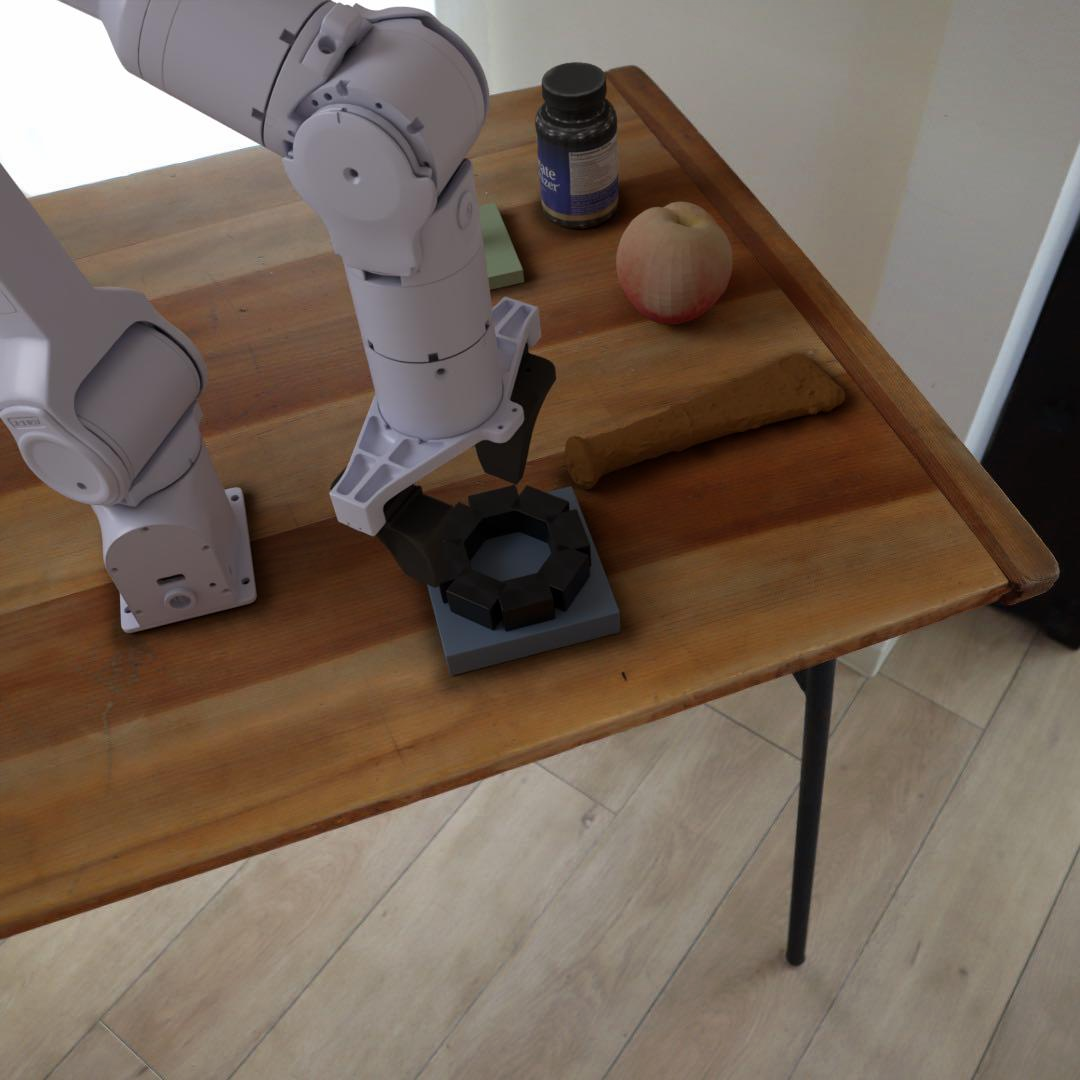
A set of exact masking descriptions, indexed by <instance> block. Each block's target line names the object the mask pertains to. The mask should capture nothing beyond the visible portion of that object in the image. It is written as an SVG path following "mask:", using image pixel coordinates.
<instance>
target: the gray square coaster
mask: <svg viewBox="0 0 1080 1080" xmlns="http://www.w3.org/2000/svg"><path fill="white" fill-rule="evenodd" d="M545 492H546V493H548V494H551V495H554V496H556V497H559V498H561V499H564V500H566V501H569V508H570V510H574V509H577V511H578V514H579V516H580V519H581V522H582V524H583V527H584V530H585V532H586V535H587V538H588V540H589V543H590V549H591V566H590V567H589V568H590V577H589V578H588V580H587V581H586V583H585V584H584V586H583V587H582V589H581V590H580V592H579V593H578V595H577V596H576V597H575V599H574V600H573V602H572V603H571V605H570V606H569V608H568V609H567V611H566V612H564V611H562V610H560V609H557V608H555V617H556V618H555V619H554V620H550V621H546V622H542V623H538V624H534V625H530V626H526V627H522V628H519V629H515V630H511V631H507V632H506V631H505V628H504V625H503V621H502V619H501V621H500V622H499V623H498V625H497V626H496V628H495V629H494V630H491V629H488V628H486V627H484V626H482V625H479V624H477V623H475V622H473V621H470V620H468V619H466V618H464V617H462V616H459V615H457V614H455V613H453V612H451V611H450V607H449V602H448V603H443V601H442V598H441V594H440V590H439V586H438V587H436V588H434V587H432V586H429V585H427V584H426V586H427V590H428V595H429V597H430V601H431V606H432V610H433V613H434V618H435V622H436V625H437V630H438V634H439V638H440V642H441V646H442V649H443V653H444V658H445V661H446V665H447V669H448V673H449V676H450V677H451V676H457V675H461V674H464V673H468V672H472V671H475V670H479V669H483V668H488V667H491V666H494V665H499V664H502V663H506V662H510V661H514V660H518V659H522V658H527V657H531V656H533V655H538V654H542V653H545V652H549V651H553V650H556V649H561V648H563V647H565V648H566V647H568V646H573V645H577V644H579V643H583V642H587V641H591V640H595V639H600V638H603V637H606V636H611V635H615V634H618V633H621V611H620V609H619V607H618V604H617V602H616V598H615V596H614V593H613V590H612V588H611V585H610V583H609V581H608V577H607V574H606V571H605V570H604V567H603V564H602V561H601V559H600V556H599V553H598V551H597V548H596V546H595V543H594V540H593V538H592V535H591V533H590V530H589V527H588V525H587V522H586V519H585V517H584V514H583V511H582V509H581V506H580V504H579V500H578V498H577V496H576V493H575V490H574V488H573V486H572V485H571V486H566V487H563V488H562V487H561V488H557V489H555V490H554V489H553V490H550V491H545ZM550 554H551V551H550V548H549V546H548V543H545V542H543V541H540V540H538V539H535V538H533V537H530V536H528V535H525V534H523V533H521V532H515V533H511V534H507V535H503V536H499V537H495V538H491V539H487V540H485V542H484V543H483V544H482V546H481V547H480V548H479V550H478V551H477V552H476V554H475V555H474V556H473V557H472V559H471V560H470V565H471V568H472V569H473V570H475V571H478V572H480V573H482V574H485V575H487V576H489V577H492V578H494V579H496V580H499V581H501V582H503V581H506V580H510V579H514V578H518V577H522V576H526V575H530V574H534V573H537V572H538V571H539V569H540V568H541V567H542V565H543V564H544V562H545V561H546V560H547V558H548V557H549V555H550Z"/></svg>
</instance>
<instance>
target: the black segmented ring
mask: <svg viewBox="0 0 1080 1080" xmlns="http://www.w3.org/2000/svg"><path fill="white" fill-rule="evenodd" d="M546 492H547V491H543V490H541V489H539V488H536V487H533V486H531V485H527V484H526V485H525V487H524V488H523V489H522V490H521V492H520V494H519V492H518V488H517V486H516V485H515V484H511V485H507V486H503V487H500V488H496V489H491V490H487V491H483V492H479V493H474V494H470V495H468V496H467V500H468V505H467V504H465V503H462V502H459V501H458V502H457V503H456V504H455V505H453V506H454V507H453V509H452V510H451V512H450V514H449V516H448V519H447V522H446V525H445V531H444V541H443V544H444V553H445V561H446V573H445V578H444V580H443V581H442V582H441V583H440V585H439V590H440V594H441V598H442V601H443V603H448V602H449V607H450V611H451V612H453V613H455V614H457V615H459V616H462V617H464V618H466V619H468V620H470V621H473V622H475V623H477V624H479V625H482V626H484V627H486V628H488V629H491V630H494V629H495V628H496V626H497V625H498V623H499V622H500V621H501V619H502V621H503V625H504V628H505V631H506V632H507V631H511V630H515V629H519V628H522V627H526V626H530V625H534V624H538V623H542V622H546V621H550V620H554V619H555V618H556V617H555V608H557V609H560V610H562V611H564V612H566V611H567V609H568V608H569V606H570V605H571V603H572V602H573V600H574V599H575V597H576V596H577V595H578V593H579V592H580V590H581V589H582V587H583V586H584V584H585V583H586V581H587V580H588V578H589V577H590V568H589V567H590V566H591V549H590V543H589V540H588V538H587V535H586V532H585V530H584V527H583V524H582V522H581V519H580V516H579V514H578V511H577V509H574V510H570V508H569V501H566V500H564V499H561V498H559V497H556V496H554V495H551V494H548V493H546ZM515 532H521V533H523V534H525V535H528V536H530V537H533V538H535V539H538V540H540V541H543V542H545V543H548V546H549V548H550V551H551V554H550V555H549V557H548V558H547V560H546V561H545V562H544V564H543V565H542V567H541V568H540V569H539V571H538V572H537V573H534V574H530V575H526V576H522V577H518V578H514V579H510V580H506V581H503V582H501V581H499V580H496V579H494V578H492V577H489V576H487V575H485V574H482V573H480V572H478V571H475V570H473V569H472V568H471V565H470V560H471V559H472V557H473V556H474V555H475V554H476V552H477V551H478V550H479V548H480V547H481V546H482V544H483V543H484V542H485V540H487V539H491V538H495V537H499V536H503V535H507V534H511V533H515Z"/></svg>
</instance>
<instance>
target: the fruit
mask: <svg viewBox="0 0 1080 1080" xmlns="http://www.w3.org/2000/svg"><path fill="white" fill-rule="evenodd" d="M618 243H619V244H618V246H617V250H616V266H615V267H616V275H617V278H618V281H619V283H620V286H621V289H622V291H623V293H624V294H625V297H626V298H627V299H628V301H629V302H630V303H631V305H632V306H633V307H634V308H635V309H636V310H637V311H638V312H639V313H640V314H642V315H643V316H644V317H645V318H647V319H648V320H649V321H652V322H654V323H656V324H660V325H664V326H674V325H682V324H685V323H689V322H691V321H693V320H695V319H697V318H699V317H701V316H702V315H704V314H705V313H706V312H707V311H709V310H710V309H711V308H712V307H713V306H714V305H715V304H716V303H717V302H718V301H719V299H720V298H721V297H722V296H723V294H724V293H725V292H726V290H727V288H728V286H729V283H730V279H731V276H732V271H733V256H734V255H733V248H732V245H731V242H730V240H729V238H728V236H727V234H726V233H725V231H724V230H723V228H721V226H720V225H719V224H718V223H717V222H716V221H715V219H714V217H713V216H712V215H711V214H710V213H709V212H707V211H706V210H705V209H704V208H703V207H701V206H699V205H697V204H695V203H692V202H688V201H680V200H679V201H675V202H670V203H668V204H667V205H665V206H663V207H661V206H653V207H650V208H647V209H645V210H644V211H642V212H641V213H639V214H638V215H637V216H635V218H633V219H632V220H631V221H630V222H629V224H628V226H627V227H626V229H625V230H624V231H623V233H622V235H621V238H620V240H619V242H618Z"/></svg>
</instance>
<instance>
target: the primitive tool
mask: <svg viewBox="0 0 1080 1080" xmlns="http://www.w3.org/2000/svg"><path fill="white" fill-rule="evenodd" d="M844 401H846V392H845V390H844V389H843V387H842V386H840V385H839V384H838V383H836V381H834V379H832V378H831V376H829V375H828V374H827V373H826V372H825V371H823V370H822V369H821V368H820V366H818V365H817V364H816V363H815V362H814V361H813V360H812V359H811V358H809V356H807V355H805V354H804V353H793V354H791V355H786V356H783V357H780V358H779V359H777V360H775V361H773V362H771V363H769V364H767V365H765V366H763V367H762V368H759V369H758V370H755V371H753V372H752V373H750V374H748V375H745V376H743V377H740V378H738V379H736V380H734V381H733V382H729V383H726V384H724V385H721V386H718V387H716V388H714V389H712V390H710V391H708V392H705V393H703V394H702V395H699V396H696V397H694V398H692V399H690V400H687V401H684V402H683V401H682V402H676V403H674V404H672V405H671V406H669V408H668V409H666V410H664V411H661V412H659V413H657V414H655V415H651V416H648V417H644V418H642V419H641V418H640V419H639V420H637V421H633V422H631V423H630V424H627V425H626V426H624V427H618V428H615V429H613V430H611V431H608V432H603V433H599V434H597V435H595V436H591V437H590V436H589V437H586V438H582V437H581V436H580V435H578V436H575V435H572V436H569V437H568V438H567V440H566V442H565V447H564V459H565V464H566V467H565V468H566V470H567V472H568V474H569V476H570V477H571V479H572V481H573V482H574V483H575V485H576V486H577V487H578V488H580V489H582V490H590V489H593V487H595V485H596V484H597V482H598V481H599V479H601V477H602V476H603V475H607V474H609V473H612V472H614V471H617V470H621V469H623V468H627V467H631V466H632V465H634V464H637V463H641V462H643V461H645V460H650V459H655V458H658V457H660V456H663V455H666V454H668V453H671V452H676V453H681V452H683V451H684V450H686V449H689V448H691V447H693V446H695V445H699V444H701V443H706V442H709V441H712V440H716V439H719V438H722V437H725V436H729V435H732V434H735V433H744V432H746V431H749V430H751V429H752V430H756V429H759V428H760V427H762V426H768V425H771V424H774V423H779V422H782V421H787V420H790V419H795V418H798V417H799V418H800V417H804V416H808V415H817V413H819V412H824V413H828V412H830V411H832V410H833V409H834V408H836V407H839V406H841V405H842V404H843V403H844Z"/></svg>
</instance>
